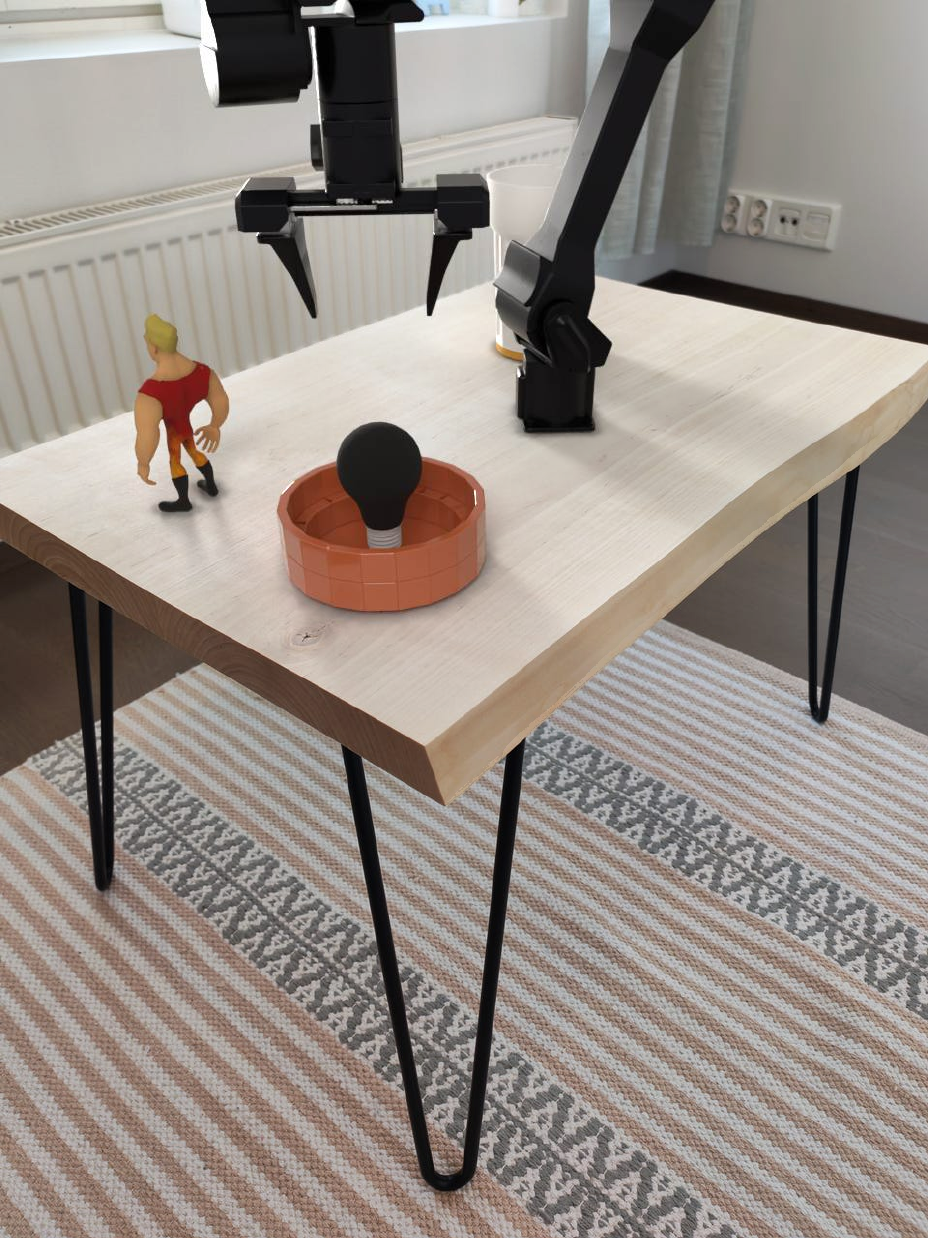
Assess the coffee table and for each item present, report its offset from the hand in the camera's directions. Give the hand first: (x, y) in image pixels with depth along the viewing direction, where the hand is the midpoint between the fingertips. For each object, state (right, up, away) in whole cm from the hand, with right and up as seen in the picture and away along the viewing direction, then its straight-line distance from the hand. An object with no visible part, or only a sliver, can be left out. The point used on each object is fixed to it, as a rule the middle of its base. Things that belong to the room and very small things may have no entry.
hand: (372, 315), depth 79 cm
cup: (+15, +5, +28) cm, 32 cm away
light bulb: (+2, -20, -8) cm, 21 cm away
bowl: (+2, -20, -8) cm, 22 cm away
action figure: (-15, -15, 0) cm, 21 cm away
